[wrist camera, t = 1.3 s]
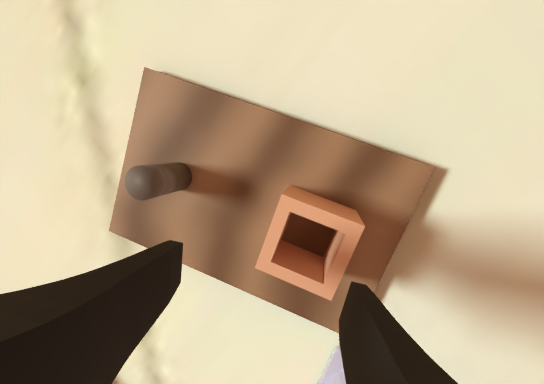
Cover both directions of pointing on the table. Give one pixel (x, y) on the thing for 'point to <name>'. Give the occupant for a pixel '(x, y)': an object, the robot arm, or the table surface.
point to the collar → (299, 262)
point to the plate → (255, 190)
